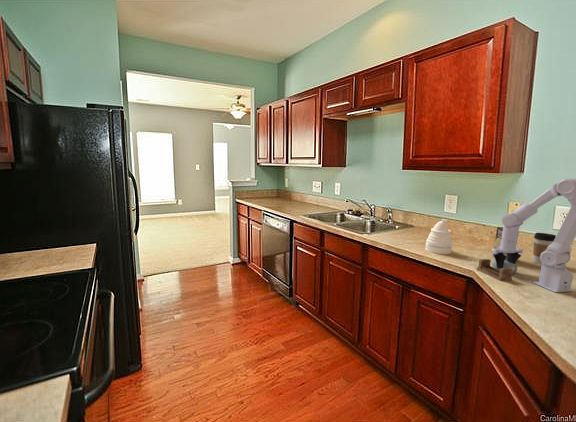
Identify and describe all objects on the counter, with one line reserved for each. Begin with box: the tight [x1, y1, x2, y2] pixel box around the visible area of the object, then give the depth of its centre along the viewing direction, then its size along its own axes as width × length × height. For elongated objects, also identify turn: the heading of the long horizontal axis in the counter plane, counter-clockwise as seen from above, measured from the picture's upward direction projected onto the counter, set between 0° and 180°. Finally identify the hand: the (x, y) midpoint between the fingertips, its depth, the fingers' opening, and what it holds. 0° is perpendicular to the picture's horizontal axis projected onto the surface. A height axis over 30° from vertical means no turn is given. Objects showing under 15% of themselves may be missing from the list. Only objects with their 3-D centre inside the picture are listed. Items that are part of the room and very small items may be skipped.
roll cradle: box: [476, 258, 513, 282], centre depth 134 cm, size 6×13×5 cm, turn 10°
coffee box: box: [492, 226, 520, 261], centre depth 155 cm, size 9×6×16 cm
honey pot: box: [425, 218, 453, 255], centre depth 167 cm, size 13×13×18 cm
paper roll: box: [492, 259, 518, 276], centre depth 139 cm, size 8×5×5 cm, turn 10°
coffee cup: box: [532, 232, 557, 265], centre depth 151 cm, size 8×8×15 cm
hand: (504, 268), depth 139 cm, fingers closed on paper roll, 5 cm apart
